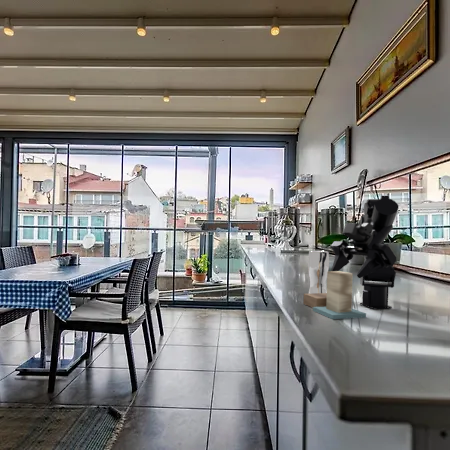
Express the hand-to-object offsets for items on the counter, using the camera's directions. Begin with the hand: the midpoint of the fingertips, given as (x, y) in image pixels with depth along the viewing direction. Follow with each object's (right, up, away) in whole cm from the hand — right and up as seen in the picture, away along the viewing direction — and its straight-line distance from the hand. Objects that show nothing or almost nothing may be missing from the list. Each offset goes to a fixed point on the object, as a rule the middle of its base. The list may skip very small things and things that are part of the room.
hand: (344, 274), depth 93 cm
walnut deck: (-4, -10, +8) cm, 14 cm away
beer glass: (0, -11, +26) cm, 29 cm away
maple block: (-2, -9, -1) cm, 9 cm away
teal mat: (-2, -10, -1) cm, 10 cm away
